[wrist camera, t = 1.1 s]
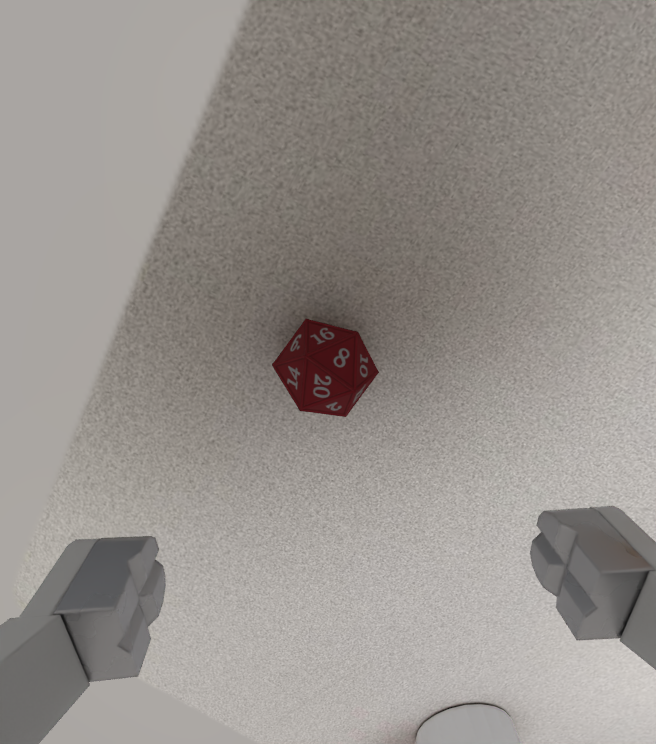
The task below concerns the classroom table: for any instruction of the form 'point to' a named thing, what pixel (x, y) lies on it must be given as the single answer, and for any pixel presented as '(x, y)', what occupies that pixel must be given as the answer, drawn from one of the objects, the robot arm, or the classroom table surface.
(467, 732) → the mug
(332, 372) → the dice
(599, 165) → the classroom table surface
